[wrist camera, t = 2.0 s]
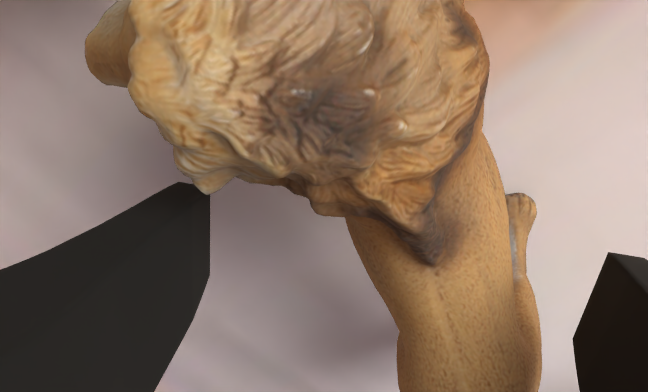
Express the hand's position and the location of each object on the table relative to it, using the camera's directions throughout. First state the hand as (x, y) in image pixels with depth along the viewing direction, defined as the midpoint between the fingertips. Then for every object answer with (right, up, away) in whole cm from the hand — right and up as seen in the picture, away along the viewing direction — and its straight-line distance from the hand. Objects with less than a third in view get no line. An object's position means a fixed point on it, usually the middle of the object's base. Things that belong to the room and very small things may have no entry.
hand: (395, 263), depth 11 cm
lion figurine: (+1, +3, +5) cm, 6 cm away
